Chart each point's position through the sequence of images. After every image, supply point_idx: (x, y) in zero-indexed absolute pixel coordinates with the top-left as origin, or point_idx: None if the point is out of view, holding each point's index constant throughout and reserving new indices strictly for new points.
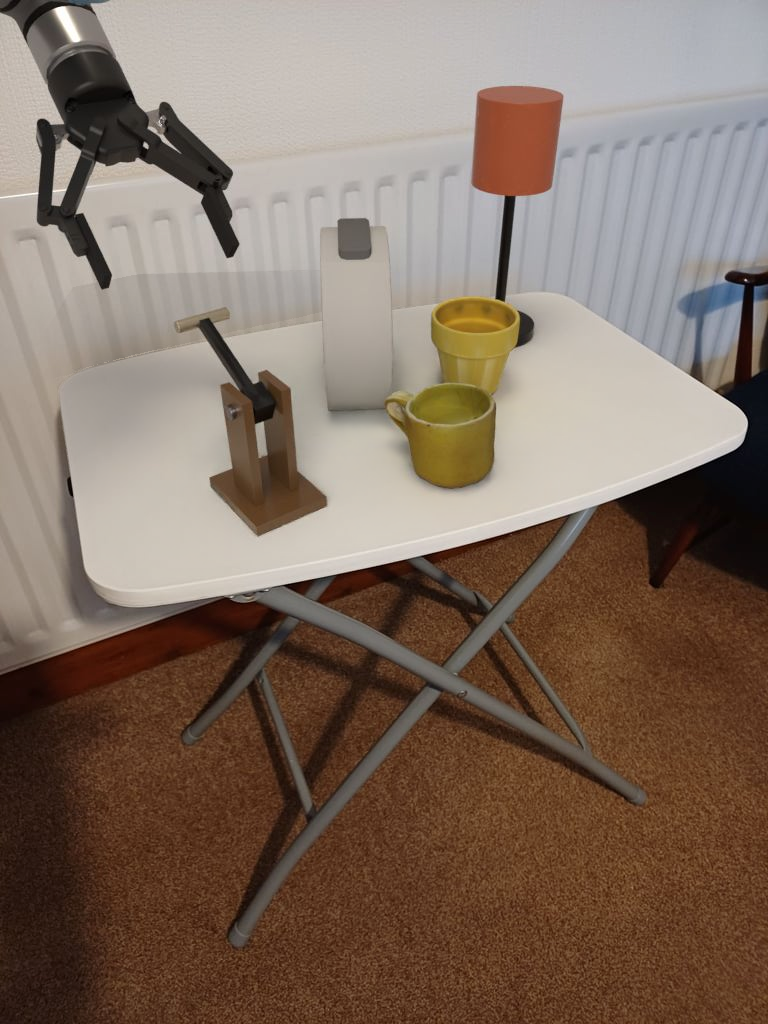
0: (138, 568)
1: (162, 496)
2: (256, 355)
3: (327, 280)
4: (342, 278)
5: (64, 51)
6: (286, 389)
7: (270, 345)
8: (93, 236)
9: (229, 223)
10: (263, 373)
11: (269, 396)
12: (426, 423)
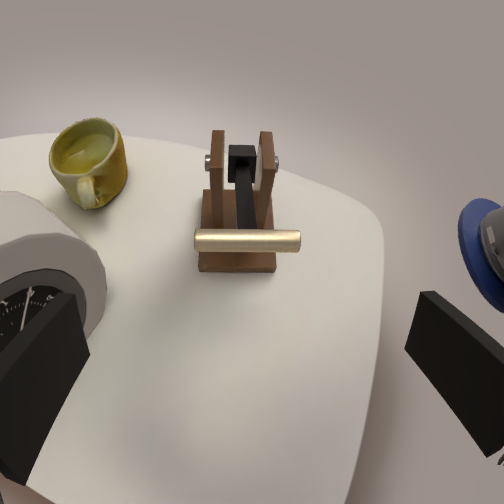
0: (357, 217)
1: (319, 284)
2: (99, 478)
3: (14, 232)
4: (3, 221)
5: None
6: (217, 130)
7: (75, 483)
8: (484, 345)
9: (28, 323)
10: (218, 162)
11: (231, 148)
12: (117, 133)
